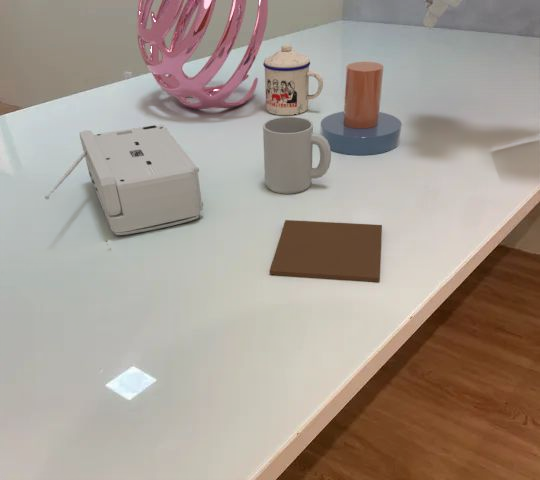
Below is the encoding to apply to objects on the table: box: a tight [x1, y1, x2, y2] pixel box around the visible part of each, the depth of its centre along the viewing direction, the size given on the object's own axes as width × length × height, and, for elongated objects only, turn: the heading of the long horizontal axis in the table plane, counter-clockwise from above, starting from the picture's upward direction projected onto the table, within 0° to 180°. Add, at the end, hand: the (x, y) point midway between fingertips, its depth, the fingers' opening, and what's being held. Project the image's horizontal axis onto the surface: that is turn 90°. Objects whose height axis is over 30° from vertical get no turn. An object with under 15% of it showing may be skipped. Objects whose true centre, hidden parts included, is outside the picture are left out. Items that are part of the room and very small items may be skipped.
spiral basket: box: [136, 0, 269, 110], centre depth 110 cm, size 28×28×27 cm
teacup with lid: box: [262, 43, 324, 116], centre depth 109 cm, size 12×9×12 cm
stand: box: [319, 111, 403, 156], centre depth 98 cm, size 14×14×3 cm
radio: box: [44, 124, 204, 236], centre depth 80 cm, size 21×8×20 cm
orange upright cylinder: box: [343, 61, 384, 129], centre depth 94 cm, size 6×6×9 cm
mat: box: [269, 219, 383, 283], centre depth 70 cm, size 13×13×1 cm
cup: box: [262, 116, 332, 195], centre depth 83 cm, size 7×10×9 cm
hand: (427, 15), depth 88 cm, fingers open, 8 cm apart
